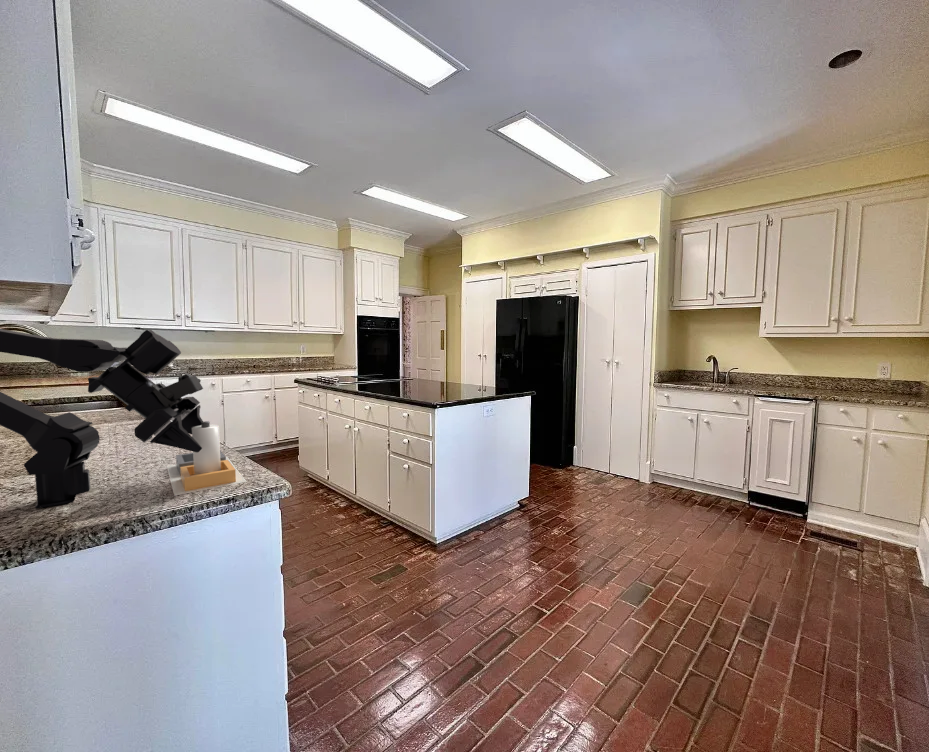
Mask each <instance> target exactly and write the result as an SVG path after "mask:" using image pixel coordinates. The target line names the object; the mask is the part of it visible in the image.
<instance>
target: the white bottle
mask: <svg viewBox="0 0 929 752" xmlns="http://www.w3.org/2000/svg"><path fill="white" fill-rule="evenodd" d="M210 422H211V421H209V420H208V421H203V422H201V425H200V426H195V427H193V428H192V434H191V436H192V437H193V438H194V439H195V440H196V441H197V443H198V444H199V445H200V446H201V447H202V449H201V450H200V451H199V452H193V451H192V453H193V460H194V475H198V474H204V473H210V472H216V471H221V461H220V450H221V446H220V445H221V443H220V441H221V440H220V439H221V438H220V426H219V424H211V423H210Z"/></svg>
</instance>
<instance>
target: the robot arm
mask: <svg viewBox="0 0 929 752" xmlns="http://www.w3.org/2000/svg"><path fill="white" fill-rule="evenodd" d="M0 353H5V354H11V355H17V356H23V357H29V358H36V359H41V360H43V361H46V362H49V363H50V364H52V365H55V366H58V367H61V368H65V369H68V370H72V371H75V372H77V373H90V372H97V371H102V370H104V371H103V372H102V373H101V374H100V375H99V376H92V377H88V378H87V381H88V387H87V392H88V393H90V394H93V393H97V392H101V391H102V390H104V389H106V391H109V393H111V394H112V395H114V397H116V398H118V399H119V401H121V402H123V403H124V404H126V406H125V407H124V409H125V410H126V411H128V412H129V413H130V412H132V411H135V412H136V414H139V415H140V416H141V417H143V418H144V419H143V420H142V421H141V422H140V423H139V424H138V425H137V426H136V427H135V428H134V437H136V438H137V439H139V440H140V441H141V442H143V443H146V442H148V441H149V443H150V444H159V445H163V446H169V447H172V448H173V447H174V448H177V449H182V450H186V451H188V452H189V451H190V452H192V453H193V452H199V451H200V450H201V449H202V447H201V446H200V445H199V444H198V443H197V441H196V440H195V439H194V438H193V437H192V428H193V427H195V426H200V425H201V422H204V421H203V419H202V417H201V414H200V413H201V404H200V403H201V402H200V401H199V400H198V399H197V398H196V397H194V396H188V395H192V394H195V393H197V392H199V391H202V390H204V387H203V386H202V384H201V380H202V379H200V378H198V376H197V375H196V374H194V375H191V374H190V373H185V374H184V375H181V376H178V379H177V381H176V382H174V383H171V384H169V385H165V384H164V383H160V382H159V383H154V382H153V381H152V380H151V379H149V378H148V377H147V376H146V375H150V374H154V375H158V374H159V373H161V372H162V371H163V370H164V369H165V368H166V367H168V365H169V364H170V363H172V362H173V361H174V360H175V359H176V358H178V357H179V356H180V355H181V353H182V352H181V350H180V349H179V347H178V346H177V345H175V344H174V343H173V342H172V340H171V341H170V340H167V339H166V338H164V336H161V335H159V334H157V333H156V332H155V331H153V330H152V329H146V330H144V331H143V332H142V333H141V334H140V335H139V337H138V338H137V339H136V340H134V341H133V342H132V343H131V344H130V345H129V346H127V347H117V346H116V347H115V346H113V345H112V343H110V342H108V341H106V340H103V339H85V338H83V339H82V338H54V337H49V336H42V335H37V334H31V333H25V332H21V331H14V330H9V329H8V330H7V329H3V328H0ZM117 362H121V363H120V364H119V365H118V366H116V367H115V366H113V365H114V364H115V363H117ZM182 397H183V398H182ZM92 425H93V422H91V421H86V420H84V419H81V418H80V417H79V416H78V415H76V414H74V413H72V412H70V411H69V412H65V413H62V414H58V415H55V416H53V415H49V414H47V413H44V412H42V411H40V410H38V409H36V408H34V407H32V406H30V405H28V404H26V403H24V402H22V401H20V400H18V399H16V398H14V397H11V396H10V395H8V394H6V393H3V392H2V391H0V426H1V427H3V428H5V429H8V430H9V431H11V432H14V433H16V434H18V435H20V436H22V437H23V438H24V439H25V441H26V442H27V444H28V445H29V446H30V448H31V449H32V450H34V451H35V452H36V453H35V454H33V456H32V457H30V458H29V459H27V460H26V462H25V463H23V466H24V468H25V470H26V471H27V473H28V475H29V476H34V479H35V489H36V502H35V505H34V508H35V509H40V508H46V507H52V506H59V505H64V504H69V503H74V502H75V499H76V496H77V495H79V494H84V493H87V492H90V491H91V477H90V470H89V469H86V467H85V461H87V460H89V458H90V455H91V453H92V451H94V450H95V449H96V448H97V447H98V445H99V444H100V434H99V433H100V432H99V431H98V430H97V428H95V427H94V426H92ZM153 436H154V437H153Z"/></svg>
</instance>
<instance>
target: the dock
mask: <svg viewBox="0 0 929 752" xmlns="http://www.w3.org/2000/svg"><path fill="white" fill-rule="evenodd" d="M220 461H221V471H216V472H210V473H204V474H198V475H194V460H193V452H189V453H182V454H181V453H180V454H175V462H176V463H175V464H170V465H166V469H167V473H168V477H169V481H170V485H171V488H172V492H173V496H180V495H184V494H190V493H195V492H200V491H206V490H210V489H216V488H221V487H227V486H232V485H238V484H243V483H247V480H246V479H245V477H244V476H243V475H242V474H241V473H240V471H239V470H238V469H237V467H236V466H235V465H234V464H233V462H232V461H231V460H230V458H229V457H228V456H226V455H225V454H224V453H223V452H222V450H221V449H220Z"/></svg>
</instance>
